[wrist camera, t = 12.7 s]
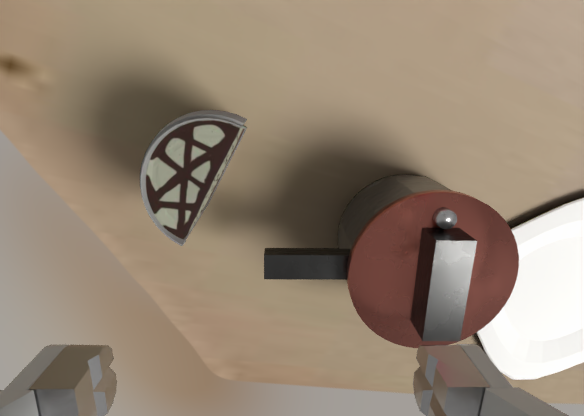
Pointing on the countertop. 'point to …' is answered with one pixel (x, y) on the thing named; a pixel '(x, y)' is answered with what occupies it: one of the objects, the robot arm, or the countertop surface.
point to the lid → (432, 268)
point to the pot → (343, 232)
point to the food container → (187, 168)
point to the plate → (543, 298)
